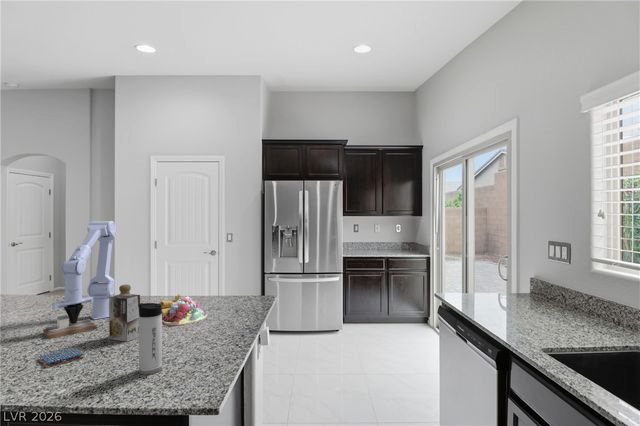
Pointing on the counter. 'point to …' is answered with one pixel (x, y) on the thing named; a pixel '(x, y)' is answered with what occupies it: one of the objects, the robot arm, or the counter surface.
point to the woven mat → (60, 357)
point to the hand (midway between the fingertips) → (73, 323)
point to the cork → (125, 289)
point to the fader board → (69, 329)
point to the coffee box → (124, 317)
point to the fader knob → (62, 321)
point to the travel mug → (150, 338)
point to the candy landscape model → (181, 311)
